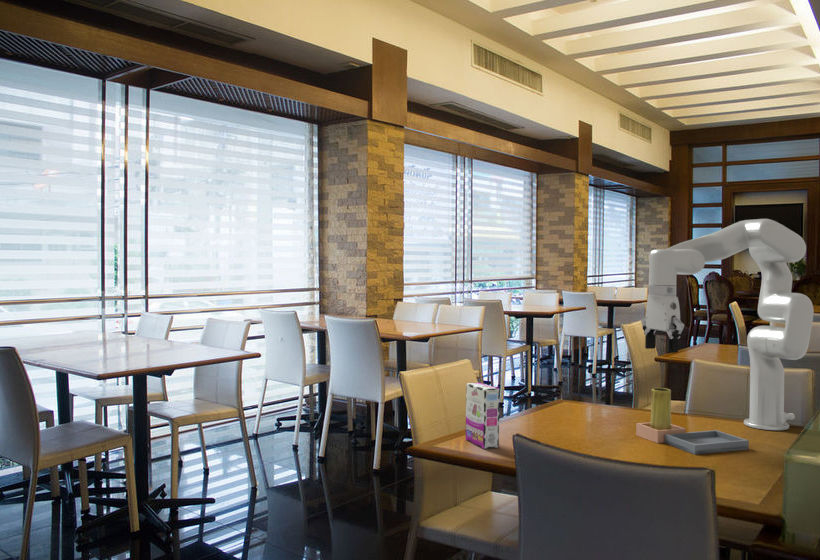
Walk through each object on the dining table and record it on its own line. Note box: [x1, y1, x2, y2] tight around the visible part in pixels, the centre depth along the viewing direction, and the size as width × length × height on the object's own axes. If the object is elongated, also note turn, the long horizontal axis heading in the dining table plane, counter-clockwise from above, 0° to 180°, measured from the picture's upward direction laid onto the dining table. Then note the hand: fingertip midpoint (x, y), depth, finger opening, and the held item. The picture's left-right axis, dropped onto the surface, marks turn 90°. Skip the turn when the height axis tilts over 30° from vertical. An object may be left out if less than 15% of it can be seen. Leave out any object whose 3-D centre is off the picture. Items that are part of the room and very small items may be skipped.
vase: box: [650, 387, 672, 430], centre depth 194 cm, size 6×6×14 cm
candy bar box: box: [465, 382, 501, 450], centre depth 186 cm, size 11×5×16 cm, turn 23°
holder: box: [635, 421, 687, 444], centre depth 194 cm, size 10×10×4 cm
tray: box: [663, 429, 750, 456], centre depth 185 cm, size 18×12×2 cm, turn 108°
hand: (661, 350), depth 193 cm, fingers open, 9 cm apart
